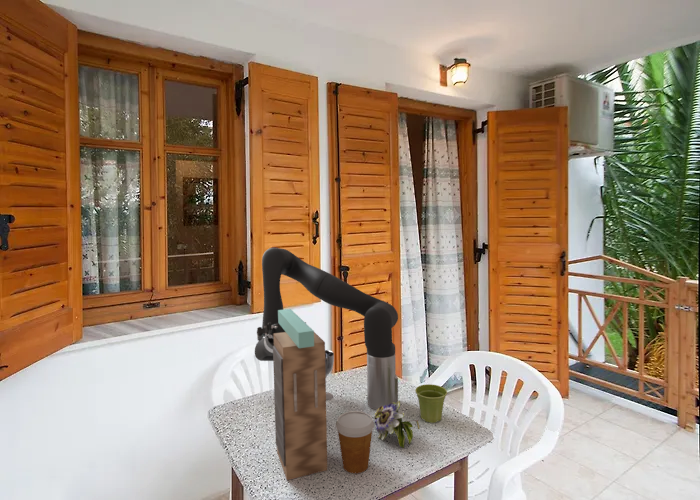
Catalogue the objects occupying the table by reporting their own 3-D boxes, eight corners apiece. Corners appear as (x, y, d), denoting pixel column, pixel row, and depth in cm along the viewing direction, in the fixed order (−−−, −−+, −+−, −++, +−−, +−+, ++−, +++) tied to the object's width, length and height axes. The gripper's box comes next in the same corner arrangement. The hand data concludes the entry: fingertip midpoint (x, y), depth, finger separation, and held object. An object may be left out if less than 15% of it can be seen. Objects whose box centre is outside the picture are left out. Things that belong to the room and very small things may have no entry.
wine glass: (339, 394, 140) (338, 352, 138) (325, 403, 133) (324, 359, 132) (320, 389, 144) (319, 348, 143) (306, 398, 137) (305, 355, 136)
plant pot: (447, 427, 117) (447, 398, 116) (414, 424, 119) (414, 396, 118) (446, 412, 126) (446, 385, 125) (416, 409, 128) (415, 383, 127)
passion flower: (381, 456, 112) (363, 414, 117) (413, 440, 117) (395, 400, 121) (394, 454, 103) (375, 407, 108) (429, 436, 107) (409, 392, 112)
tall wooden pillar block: (313, 444, 109) (311, 329, 107) (327, 471, 98) (325, 342, 95) (275, 452, 106) (271, 333, 103) (285, 481, 94) (281, 348, 91)
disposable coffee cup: (335, 455, 104) (334, 411, 103) (371, 453, 105) (371, 409, 104) (337, 479, 95) (336, 430, 94) (377, 476, 95) (377, 428, 94)
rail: (290, 321, 115) (290, 308, 114) (314, 346, 92) (313, 330, 92) (278, 322, 114) (277, 310, 113) (298, 348, 91) (298, 332, 91)
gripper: (252, 329, 126) (258, 314, 112) (297, 324, 131) (308, 309, 117) (255, 353, 123) (261, 340, 109) (300, 347, 128) (312, 334, 114)
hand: (285, 324), depth 113 cm, fingers open, 8 cm apart
